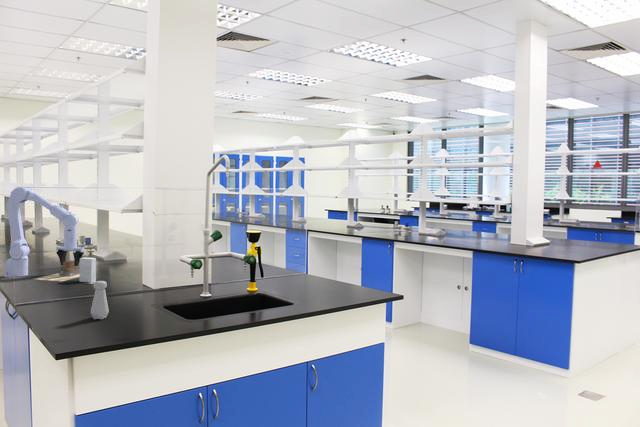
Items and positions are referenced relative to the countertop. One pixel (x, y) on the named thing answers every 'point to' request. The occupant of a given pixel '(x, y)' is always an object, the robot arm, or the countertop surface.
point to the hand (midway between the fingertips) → (69, 265)
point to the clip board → (61, 276)
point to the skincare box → (87, 270)
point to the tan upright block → (68, 266)
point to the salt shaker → (99, 301)
